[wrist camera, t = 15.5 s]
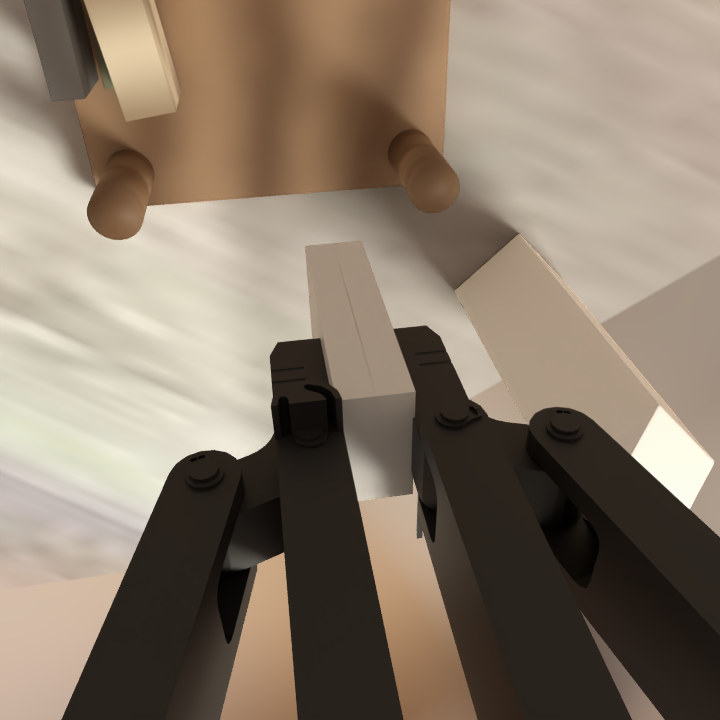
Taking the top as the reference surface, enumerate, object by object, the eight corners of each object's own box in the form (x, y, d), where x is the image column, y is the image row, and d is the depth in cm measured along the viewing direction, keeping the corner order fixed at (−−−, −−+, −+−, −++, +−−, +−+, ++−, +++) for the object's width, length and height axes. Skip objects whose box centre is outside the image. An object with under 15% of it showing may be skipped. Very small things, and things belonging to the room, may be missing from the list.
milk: (518, 231, 46) (700, 448, 28) (566, 283, 49) (758, 507, 31) (451, 291, 48) (583, 529, 30) (502, 337, 51) (648, 578, 33)
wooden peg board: (107, 196, 40) (83, 256, 34) (-6, -252, 29) (-75, -291, 22) (433, 170, 43) (469, 222, 36) (451, -255, 31) (508, -291, 25)
